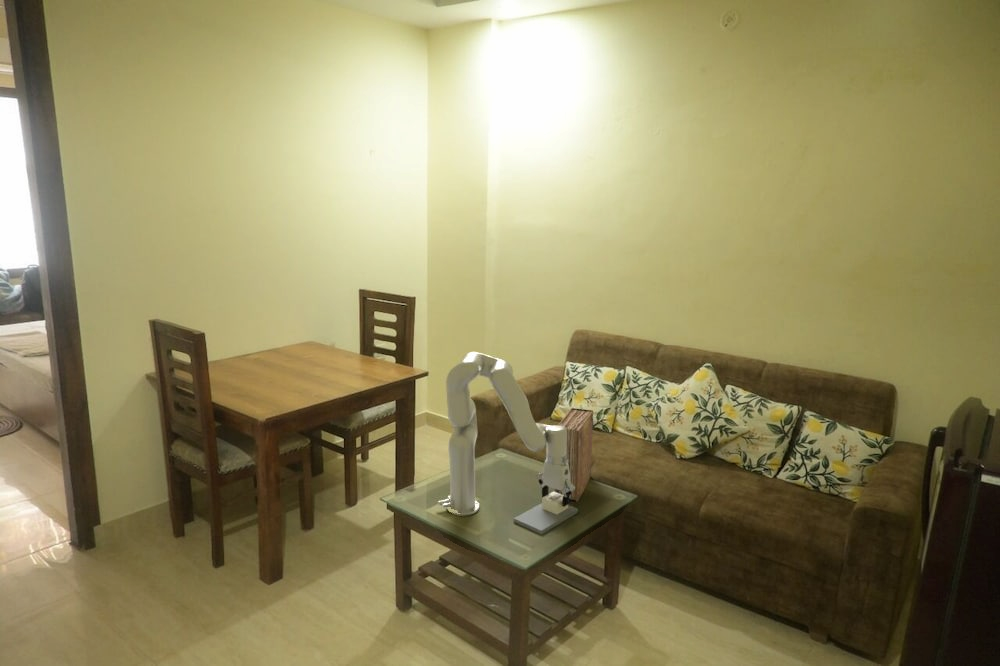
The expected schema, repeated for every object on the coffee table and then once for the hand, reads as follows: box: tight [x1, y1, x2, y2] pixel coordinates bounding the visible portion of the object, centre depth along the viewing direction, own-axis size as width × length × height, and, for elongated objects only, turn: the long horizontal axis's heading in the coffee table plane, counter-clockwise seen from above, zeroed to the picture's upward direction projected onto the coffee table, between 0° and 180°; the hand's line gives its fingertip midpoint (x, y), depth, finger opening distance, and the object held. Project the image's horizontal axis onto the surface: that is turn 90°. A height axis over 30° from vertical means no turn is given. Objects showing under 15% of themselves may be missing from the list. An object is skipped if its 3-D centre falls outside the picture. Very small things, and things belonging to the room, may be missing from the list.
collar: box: [541, 490, 569, 514], centre depth 233 cm, size 7×7×4 cm
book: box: [554, 407, 594, 503], centre depth 251 cm, size 25×9×30 cm, turn 159°
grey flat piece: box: [513, 494, 579, 536], centre depth 229 cm, size 22×13×6 cm, turn 138°
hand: (555, 501), depth 233 cm, fingers open, 9 cm apart
